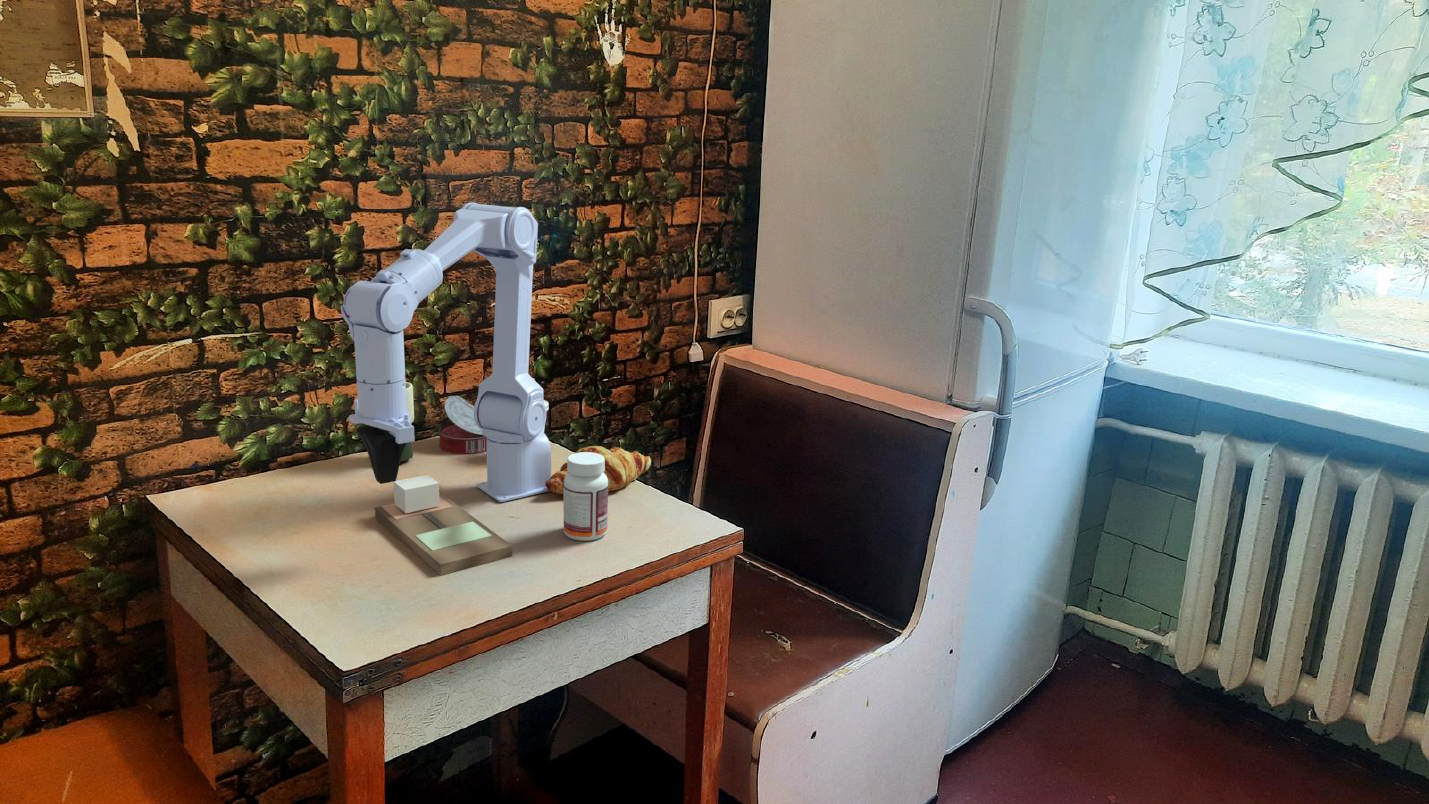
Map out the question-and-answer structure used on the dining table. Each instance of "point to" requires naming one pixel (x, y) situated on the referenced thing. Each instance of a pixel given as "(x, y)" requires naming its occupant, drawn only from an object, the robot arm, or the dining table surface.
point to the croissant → (608, 468)
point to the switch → (445, 536)
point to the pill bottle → (585, 497)
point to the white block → (416, 493)
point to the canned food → (461, 429)
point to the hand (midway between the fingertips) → (386, 481)
